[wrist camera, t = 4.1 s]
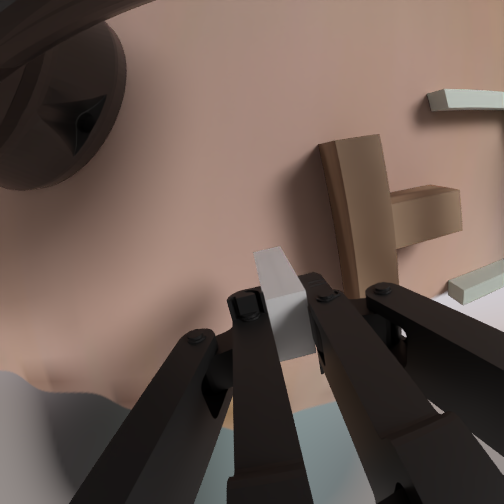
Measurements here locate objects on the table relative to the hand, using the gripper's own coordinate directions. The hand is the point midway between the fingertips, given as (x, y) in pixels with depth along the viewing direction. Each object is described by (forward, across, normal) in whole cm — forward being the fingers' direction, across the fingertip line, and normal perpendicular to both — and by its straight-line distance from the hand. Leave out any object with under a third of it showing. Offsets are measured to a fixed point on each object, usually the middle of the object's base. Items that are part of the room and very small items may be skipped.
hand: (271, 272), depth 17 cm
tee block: (+6, +10, 0) cm, 11 cm away
